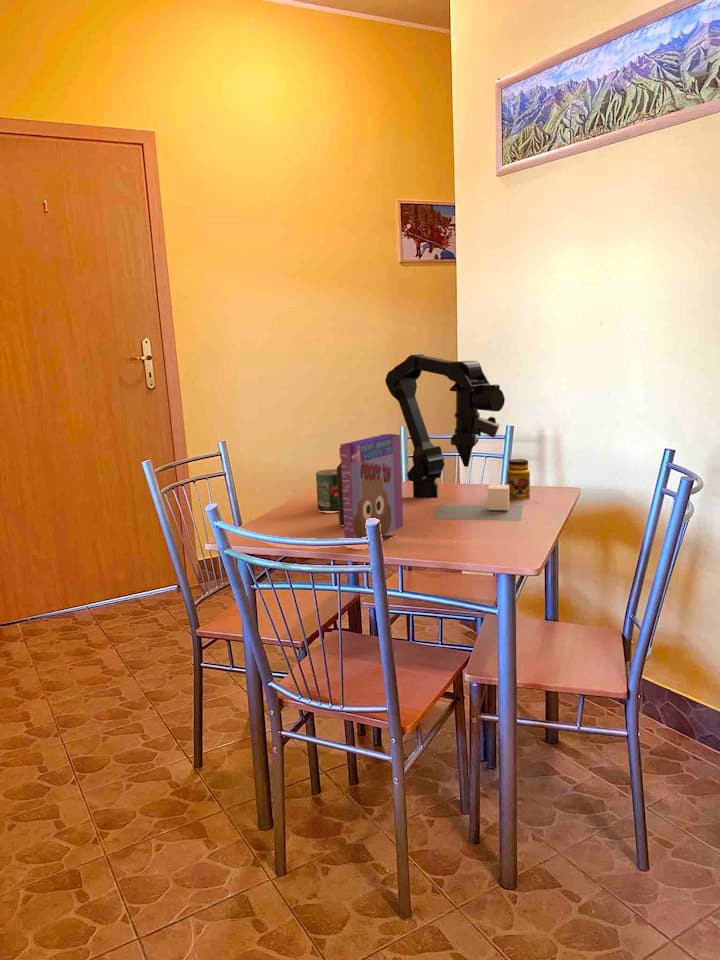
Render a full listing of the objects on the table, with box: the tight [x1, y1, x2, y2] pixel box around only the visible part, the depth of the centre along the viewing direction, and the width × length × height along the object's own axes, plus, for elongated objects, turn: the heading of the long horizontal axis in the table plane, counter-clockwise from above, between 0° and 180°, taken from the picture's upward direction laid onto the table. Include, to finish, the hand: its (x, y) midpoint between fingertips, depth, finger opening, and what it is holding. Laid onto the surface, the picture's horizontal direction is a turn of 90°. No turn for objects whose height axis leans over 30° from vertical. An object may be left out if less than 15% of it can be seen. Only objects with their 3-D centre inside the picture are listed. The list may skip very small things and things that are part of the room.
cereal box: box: [339, 433, 404, 542], centre depth 165 cm, size 17×5×24 cm, turn 145°
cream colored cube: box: [487, 484, 510, 510], centre depth 184 cm, size 5×5×6 cm
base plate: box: [431, 503, 524, 522], centre depth 183 cm, size 22×16×2 cm
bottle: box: [336, 447, 344, 525], centre depth 180 cm, size 7×7×20 cm
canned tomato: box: [315, 469, 339, 511], centre depth 198 cm, size 8×8×11 cm
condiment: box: [506, 458, 537, 503], centre depth 198 cm, size 7×8×12 cm
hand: (466, 466), depth 192 cm, fingers closed
